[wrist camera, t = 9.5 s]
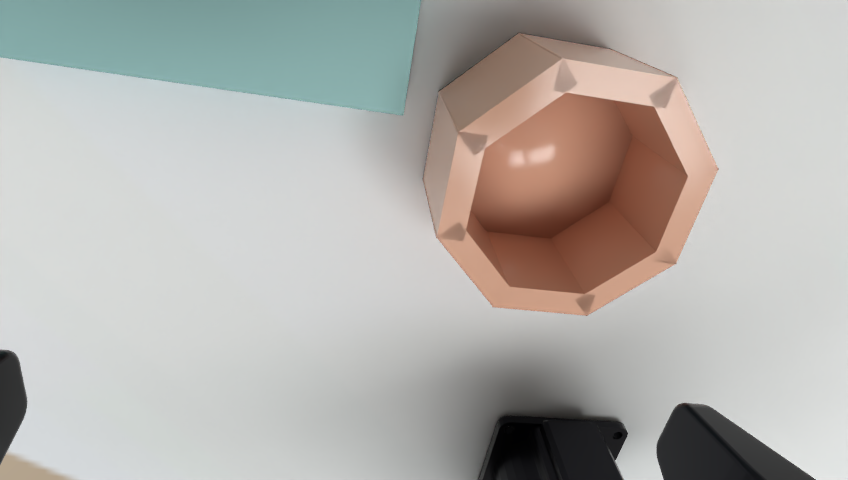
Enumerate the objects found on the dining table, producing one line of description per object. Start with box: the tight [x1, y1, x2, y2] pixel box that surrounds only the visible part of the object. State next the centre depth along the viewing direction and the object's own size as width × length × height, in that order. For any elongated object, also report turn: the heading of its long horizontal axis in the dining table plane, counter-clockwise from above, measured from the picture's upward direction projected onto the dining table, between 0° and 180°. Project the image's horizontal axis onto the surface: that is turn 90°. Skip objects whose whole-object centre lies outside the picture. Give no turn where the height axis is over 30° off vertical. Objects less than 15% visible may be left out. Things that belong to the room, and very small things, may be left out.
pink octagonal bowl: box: [423, 33, 719, 316], centre depth 17 cm, size 8×8×4 cm
